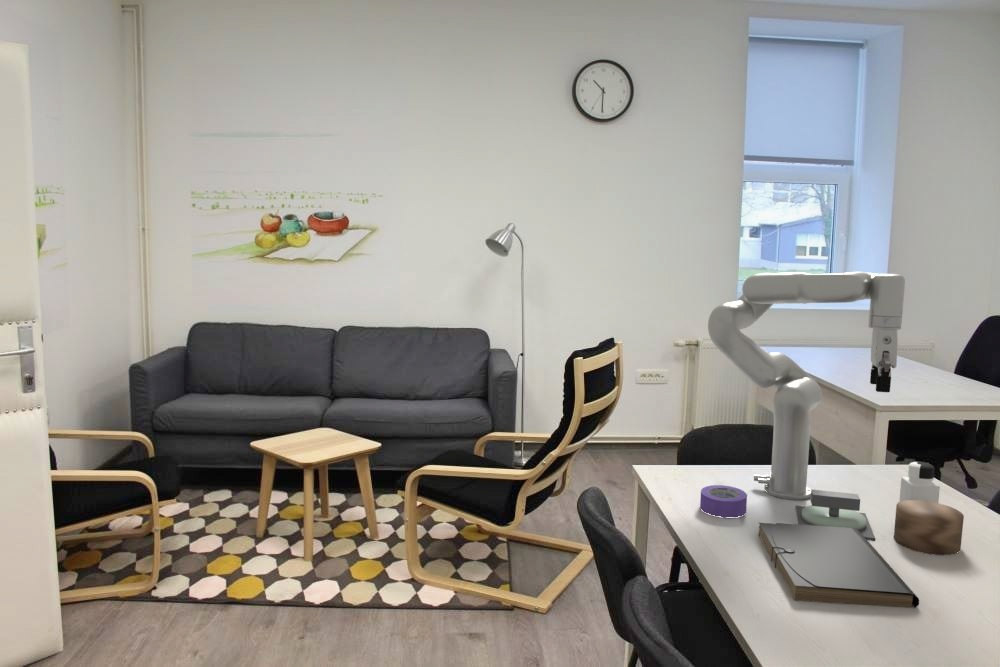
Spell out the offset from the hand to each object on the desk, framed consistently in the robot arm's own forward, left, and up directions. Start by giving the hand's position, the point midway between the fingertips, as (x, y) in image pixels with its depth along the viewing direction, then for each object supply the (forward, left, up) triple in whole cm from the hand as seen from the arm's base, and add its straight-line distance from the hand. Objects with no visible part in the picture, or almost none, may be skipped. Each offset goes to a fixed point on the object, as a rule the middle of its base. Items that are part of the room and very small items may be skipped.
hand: (879, 387), depth 199 cm
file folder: (-13, -40, -34) cm, 54 cm away
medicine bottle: (+13, +8, -34) cm, 37 cm away
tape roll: (-37, -12, -34) cm, 51 cm away
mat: (-10, -12, -33) cm, 37 cm away
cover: (-10, -12, -33) cm, 36 cm away
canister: (+10, -18, -33) cm, 39 cm away
